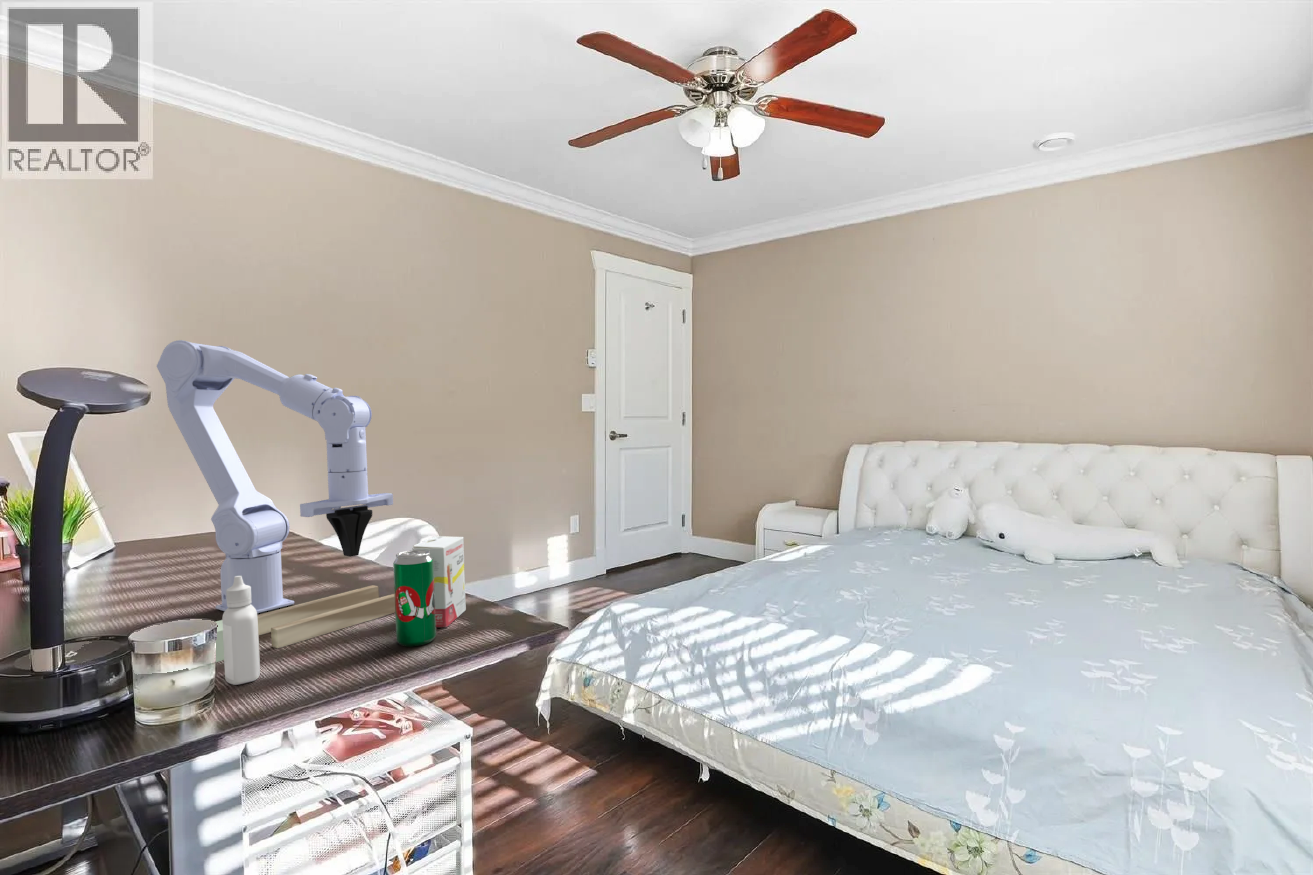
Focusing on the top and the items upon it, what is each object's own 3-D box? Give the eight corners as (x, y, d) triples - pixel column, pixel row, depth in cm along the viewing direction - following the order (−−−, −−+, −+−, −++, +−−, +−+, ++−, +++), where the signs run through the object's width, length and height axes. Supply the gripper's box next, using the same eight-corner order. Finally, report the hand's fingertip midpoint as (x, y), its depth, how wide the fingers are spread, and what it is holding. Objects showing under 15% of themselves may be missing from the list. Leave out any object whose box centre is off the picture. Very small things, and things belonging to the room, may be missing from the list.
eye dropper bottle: (210, 688, 72) (204, 583, 72) (233, 669, 78) (229, 571, 77) (252, 684, 73) (247, 581, 72) (272, 666, 78) (268, 569, 78)
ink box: (446, 628, 91) (443, 546, 90) (413, 628, 91) (409, 546, 91) (467, 610, 99) (465, 535, 99) (436, 610, 100) (434, 535, 99)
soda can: (426, 632, 89) (423, 547, 89) (443, 640, 86) (439, 552, 85) (390, 641, 86) (386, 553, 85) (406, 651, 82) (402, 559, 82)
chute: (243, 636, 90) (242, 618, 90) (373, 599, 106) (372, 585, 106) (277, 648, 84) (277, 629, 84) (409, 608, 101) (408, 592, 101)
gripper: (316, 476, 94) (320, 567, 94) (402, 467, 106) (406, 549, 106) (291, 474, 97) (295, 562, 98) (377, 467, 110) (380, 545, 110)
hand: (351, 555), depth 102 cm, fingers closed
